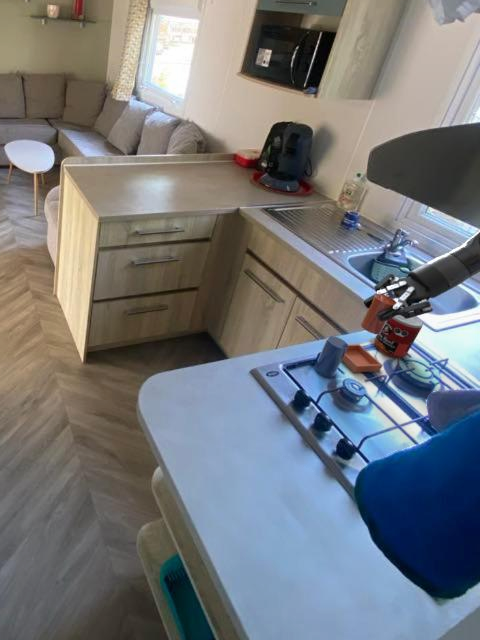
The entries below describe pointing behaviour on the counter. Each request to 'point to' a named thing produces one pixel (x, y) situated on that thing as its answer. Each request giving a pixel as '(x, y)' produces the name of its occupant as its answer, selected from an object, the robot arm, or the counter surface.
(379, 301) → the cylinder
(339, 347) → the cylinder
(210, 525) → the counter surface
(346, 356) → the terracotta tray
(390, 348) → the canned food
